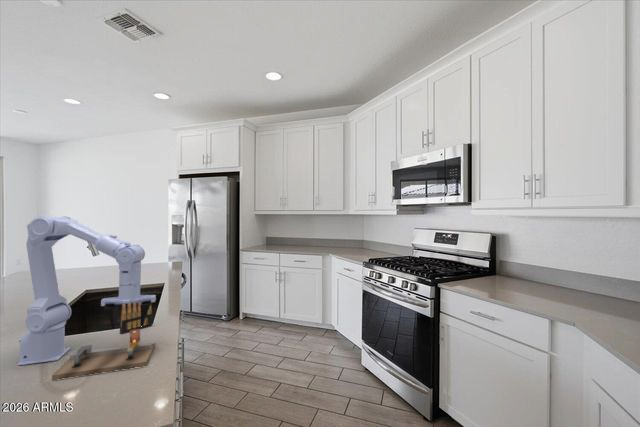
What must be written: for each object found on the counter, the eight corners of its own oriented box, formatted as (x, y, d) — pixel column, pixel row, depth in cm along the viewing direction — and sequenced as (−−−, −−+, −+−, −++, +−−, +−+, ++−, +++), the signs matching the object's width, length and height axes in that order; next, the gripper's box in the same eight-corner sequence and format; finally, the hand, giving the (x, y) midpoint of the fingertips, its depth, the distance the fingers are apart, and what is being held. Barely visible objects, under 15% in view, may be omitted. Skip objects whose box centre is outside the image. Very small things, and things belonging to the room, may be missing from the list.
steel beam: (69, 360, 83) (69, 355, 83) (72, 357, 84) (72, 352, 84) (150, 349, 90) (150, 344, 90) (151, 347, 92) (151, 342, 92)
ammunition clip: (150, 325, 114) (151, 295, 115) (152, 326, 113) (152, 296, 113) (119, 333, 106) (120, 301, 106) (121, 334, 105) (121, 302, 105)
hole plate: (51, 381, 75) (52, 375, 75) (74, 358, 87) (75, 353, 87) (146, 366, 83) (146, 361, 83) (155, 347, 95) (155, 342, 95)
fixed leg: (70, 367, 79) (70, 357, 79) (81, 356, 85) (82, 346, 85) (80, 366, 80) (81, 355, 80) (91, 354, 86) (91, 344, 86)
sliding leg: (124, 359, 83) (124, 338, 83) (130, 348, 90) (131, 329, 90) (135, 357, 84) (135, 336, 84) (141, 347, 91) (141, 328, 91)
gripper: (97, 288, 84) (96, 333, 83) (153, 285, 89) (151, 328, 88) (106, 282, 90) (105, 325, 90) (157, 280, 95) (156, 320, 95)
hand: (128, 326), depth 90 cm, fingers open, 7 cm apart
